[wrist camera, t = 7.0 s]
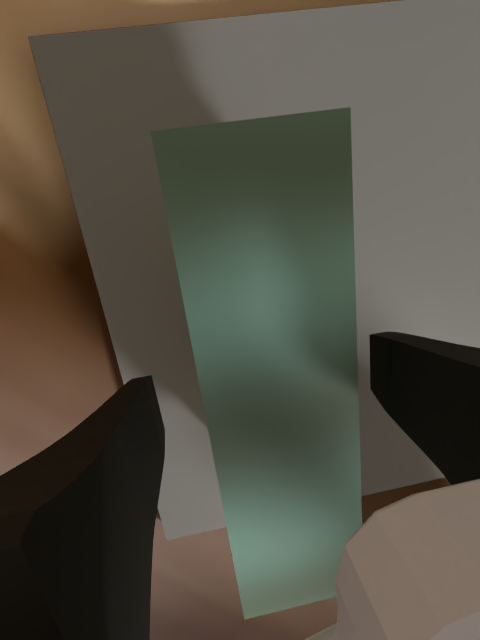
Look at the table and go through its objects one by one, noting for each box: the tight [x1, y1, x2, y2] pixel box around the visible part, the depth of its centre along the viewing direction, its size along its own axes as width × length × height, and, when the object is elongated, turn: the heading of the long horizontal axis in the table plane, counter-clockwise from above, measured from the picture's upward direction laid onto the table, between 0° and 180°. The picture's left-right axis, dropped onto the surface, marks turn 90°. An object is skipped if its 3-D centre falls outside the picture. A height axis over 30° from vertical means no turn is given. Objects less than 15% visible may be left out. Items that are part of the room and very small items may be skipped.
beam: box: [150, 107, 362, 619], centre depth 11 cm, size 14×4×4 cm, turn 7°
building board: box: [28, 0, 480, 541], centre depth 16 cm, size 24×26×5 cm
